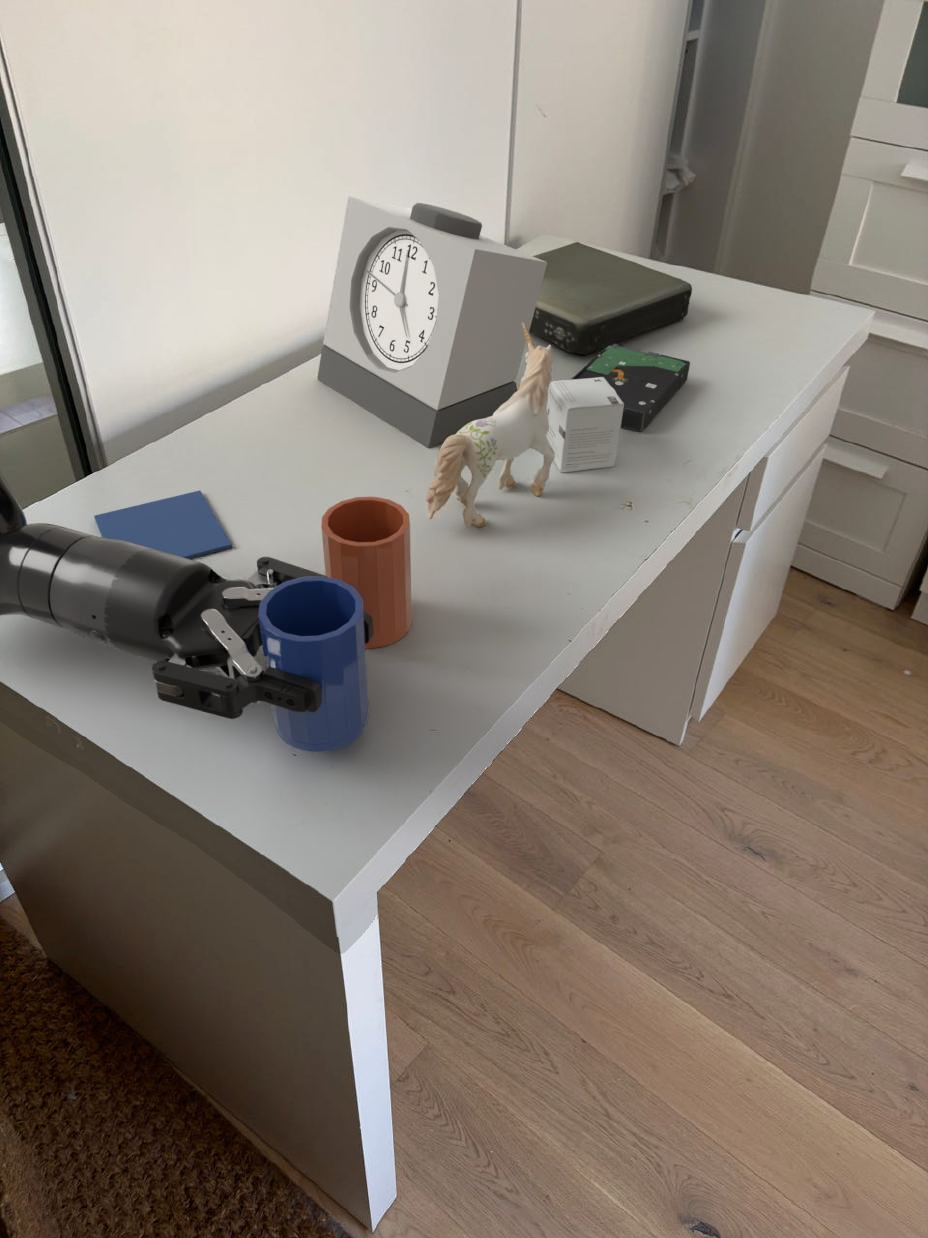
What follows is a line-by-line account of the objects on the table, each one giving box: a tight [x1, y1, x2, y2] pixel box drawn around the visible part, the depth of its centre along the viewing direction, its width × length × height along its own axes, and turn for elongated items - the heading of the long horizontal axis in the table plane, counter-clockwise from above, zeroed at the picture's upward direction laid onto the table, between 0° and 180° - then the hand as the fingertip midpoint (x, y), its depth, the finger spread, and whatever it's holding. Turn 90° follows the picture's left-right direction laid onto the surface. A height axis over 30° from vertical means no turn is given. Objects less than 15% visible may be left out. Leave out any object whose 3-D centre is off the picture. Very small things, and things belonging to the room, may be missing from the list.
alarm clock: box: [316, 195, 547, 449], centre depth 104 cm, size 20×16×20 cm
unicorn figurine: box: [425, 322, 555, 528], centre depth 90 cm, size 7×20×13 cm, turn 151°
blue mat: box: [93, 490, 233, 560], centre depth 88 cm, size 10×10×1 cm
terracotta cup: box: [320, 496, 413, 649], centre depth 76 cm, size 7×7×10 cm
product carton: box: [546, 377, 624, 473], centre depth 98 cm, size 6×6×7 cm
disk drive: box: [570, 343, 691, 432], centre depth 110 cm, size 10×3×15 cm
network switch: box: [529, 241, 693, 356], centre depth 127 cm, size 23×24×5 cm
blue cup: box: [258, 576, 370, 753], centre depth 65 cm, size 7×7×10 cm
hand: (345, 662), depth 64 cm, fingers closed on blue cup, 6 cm apart
